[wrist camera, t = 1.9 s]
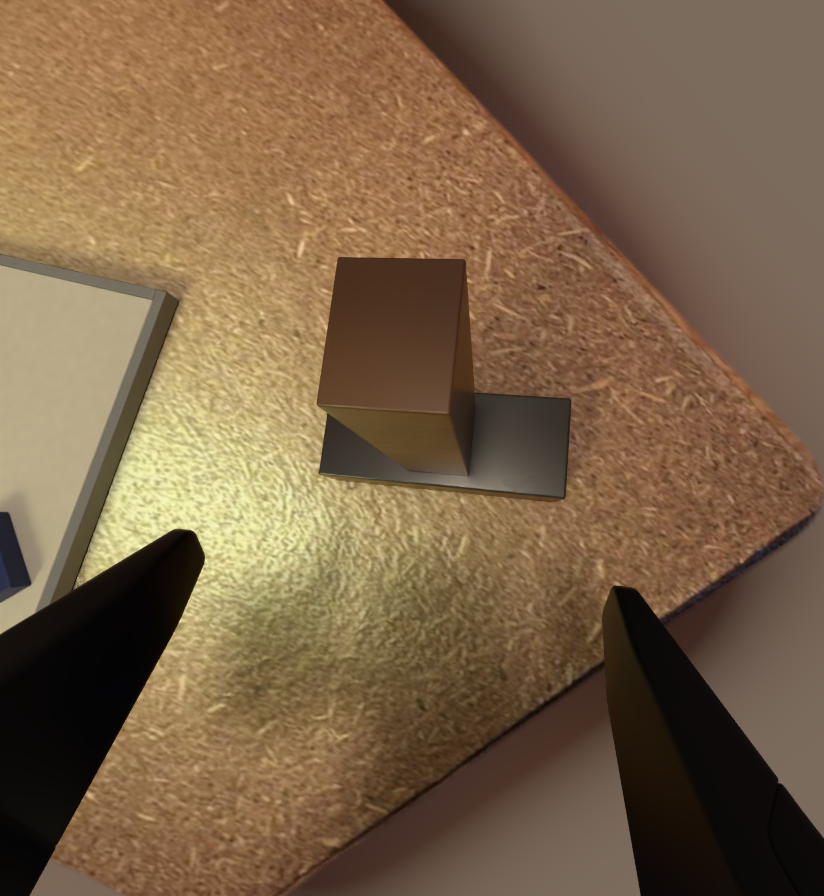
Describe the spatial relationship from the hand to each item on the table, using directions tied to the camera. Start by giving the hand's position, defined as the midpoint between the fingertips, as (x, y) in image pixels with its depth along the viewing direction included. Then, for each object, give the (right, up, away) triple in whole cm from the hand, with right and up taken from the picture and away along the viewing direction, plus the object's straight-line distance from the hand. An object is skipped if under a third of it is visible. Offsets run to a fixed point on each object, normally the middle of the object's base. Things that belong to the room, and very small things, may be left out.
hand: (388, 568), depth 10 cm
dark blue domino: (-20, -3, +13) cm, 24 cm away
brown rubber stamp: (+2, +3, +11) cm, 12 cm away
